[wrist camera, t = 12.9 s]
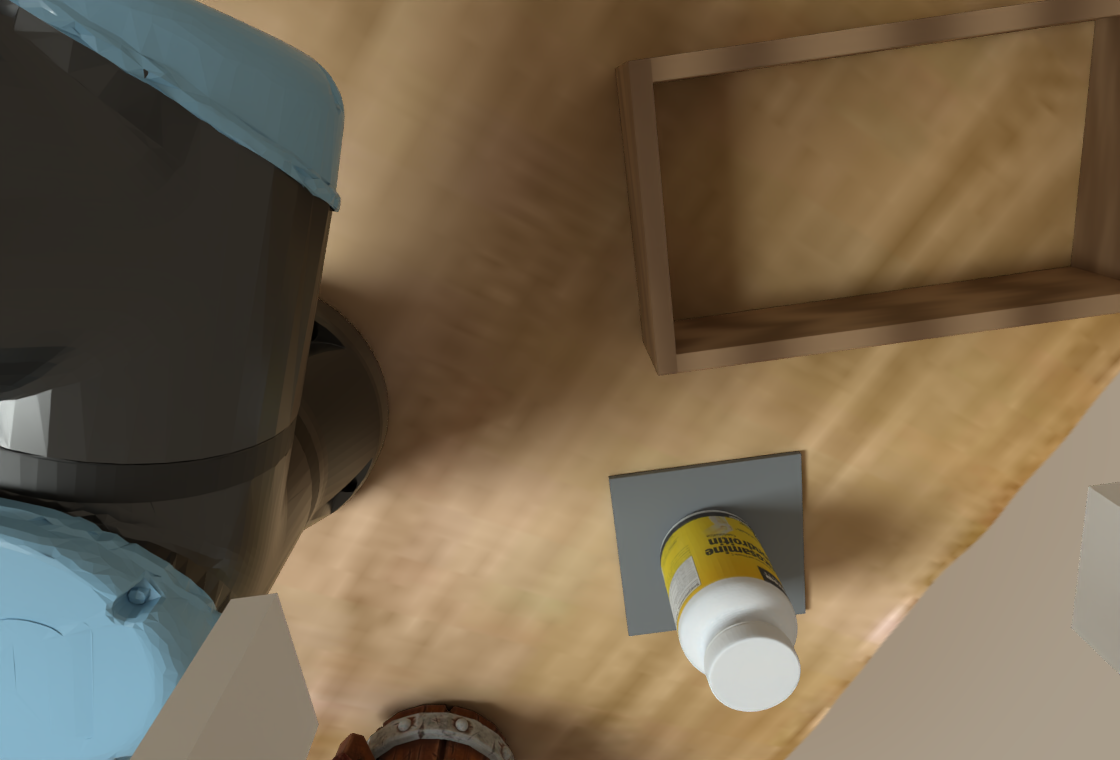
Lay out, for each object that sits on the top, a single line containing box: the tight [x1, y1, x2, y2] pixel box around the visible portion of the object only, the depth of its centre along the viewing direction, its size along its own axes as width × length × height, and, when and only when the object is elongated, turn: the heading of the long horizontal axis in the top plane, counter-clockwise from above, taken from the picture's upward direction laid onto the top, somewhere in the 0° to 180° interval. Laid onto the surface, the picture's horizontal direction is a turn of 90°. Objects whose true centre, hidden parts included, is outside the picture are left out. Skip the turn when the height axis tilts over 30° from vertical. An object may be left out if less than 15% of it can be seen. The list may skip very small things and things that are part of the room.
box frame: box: [615, 0, 1120, 376], centre depth 38 cm, size 26×15×6 cm, turn 98°
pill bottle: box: [660, 510, 801, 712], centre depth 43 cm, size 6×6×12 cm
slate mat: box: [609, 451, 805, 636], centre depth 49 cm, size 12×12×1 cm
